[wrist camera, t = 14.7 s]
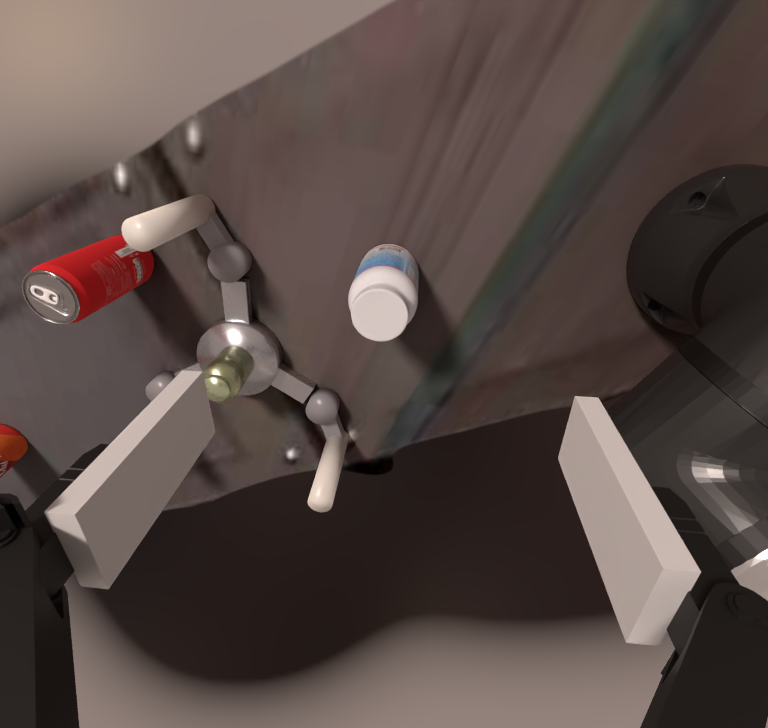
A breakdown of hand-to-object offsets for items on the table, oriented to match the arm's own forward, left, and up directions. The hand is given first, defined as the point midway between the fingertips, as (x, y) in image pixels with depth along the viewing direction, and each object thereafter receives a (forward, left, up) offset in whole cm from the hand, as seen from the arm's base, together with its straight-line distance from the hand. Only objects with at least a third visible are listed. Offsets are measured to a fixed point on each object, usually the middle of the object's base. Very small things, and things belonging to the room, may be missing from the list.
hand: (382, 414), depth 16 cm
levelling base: (+18, +14, -31) cm, 38 cm away
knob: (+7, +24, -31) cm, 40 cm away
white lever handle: (+19, +3, -31) cm, 36 cm away
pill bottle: (+2, +5, -31) cm, 32 cm away
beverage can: (+29, +6, -31) cm, 43 cm away
